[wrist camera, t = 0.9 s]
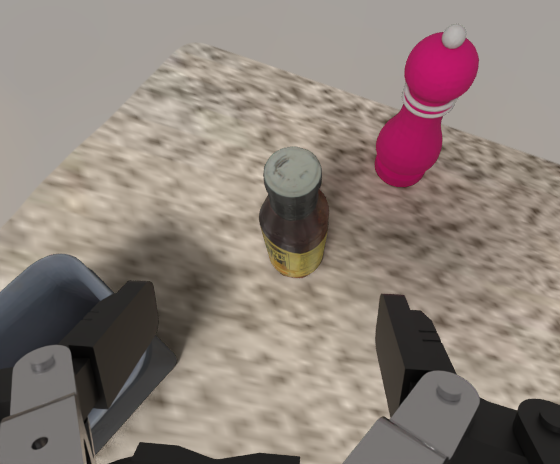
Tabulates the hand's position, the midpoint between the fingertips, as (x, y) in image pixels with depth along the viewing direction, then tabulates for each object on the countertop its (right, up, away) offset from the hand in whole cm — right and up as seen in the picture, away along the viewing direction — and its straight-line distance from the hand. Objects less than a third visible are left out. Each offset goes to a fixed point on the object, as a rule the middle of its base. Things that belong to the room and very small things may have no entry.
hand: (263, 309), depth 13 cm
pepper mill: (+16, +11, +35) cm, 39 cm away
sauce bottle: (+3, 0, +31) cm, 31 cm away
